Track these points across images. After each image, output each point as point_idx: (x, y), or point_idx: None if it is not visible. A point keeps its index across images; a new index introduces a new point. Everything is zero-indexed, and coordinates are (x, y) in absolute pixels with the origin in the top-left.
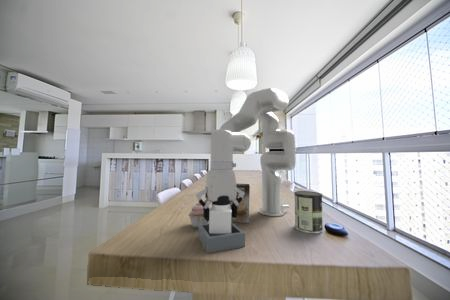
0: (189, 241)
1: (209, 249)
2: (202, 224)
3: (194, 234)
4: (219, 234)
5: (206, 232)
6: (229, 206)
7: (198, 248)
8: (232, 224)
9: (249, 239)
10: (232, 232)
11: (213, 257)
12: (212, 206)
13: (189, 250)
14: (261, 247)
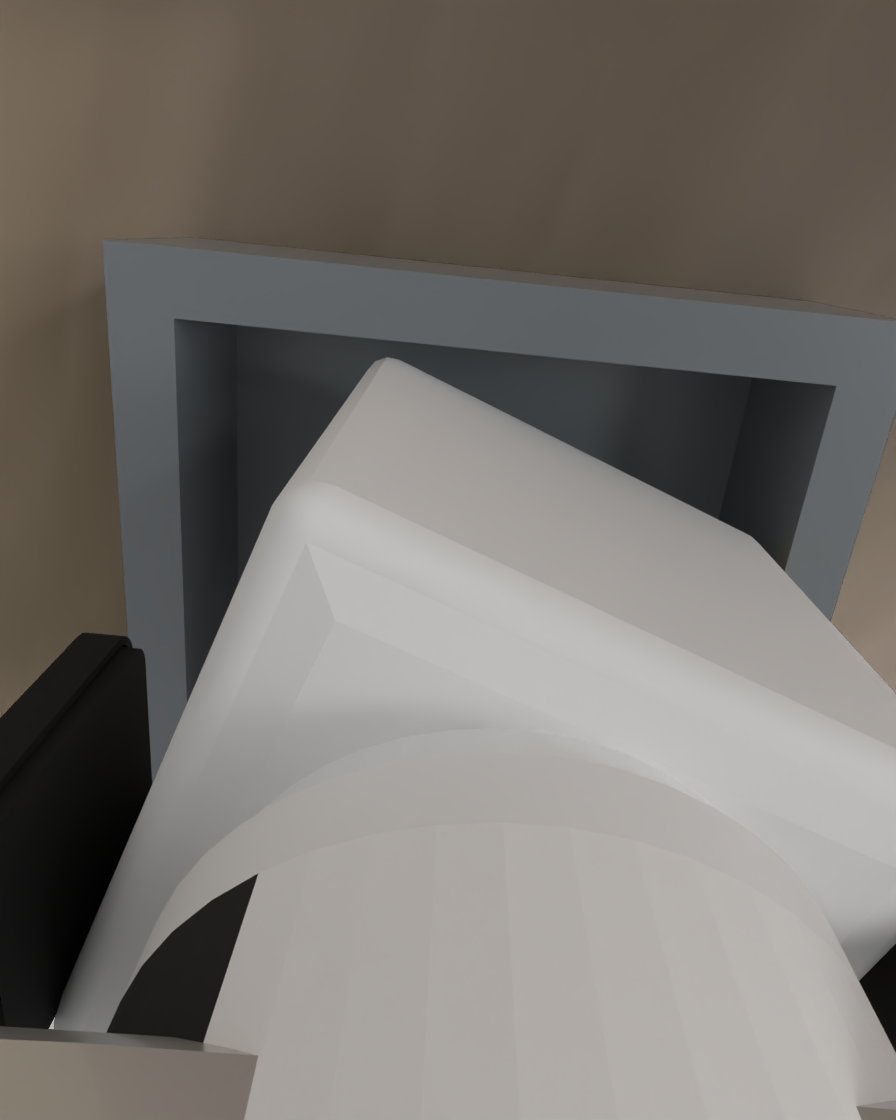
0: (22, 359)
1: None
2: (194, 275)
3: (143, 92)
4: (546, 393)
5: (172, 698)
6: (875, 929)
7: (122, 614)
8: (807, 559)
9: (883, 672)
10: None
11: None
12: (270, 713)
13: (3, 615)
14: None
